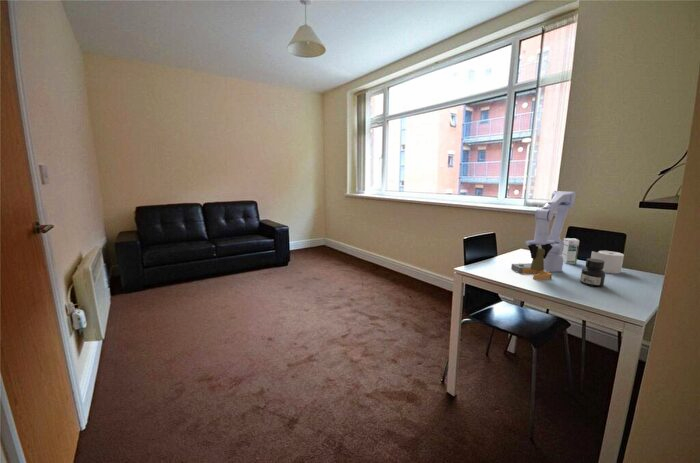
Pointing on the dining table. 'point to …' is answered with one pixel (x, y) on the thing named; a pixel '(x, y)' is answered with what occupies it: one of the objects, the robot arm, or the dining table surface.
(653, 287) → the dining table surface
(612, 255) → the toilet tissue
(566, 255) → the syrup box
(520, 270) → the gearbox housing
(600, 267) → the ink bottle
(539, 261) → the cork
